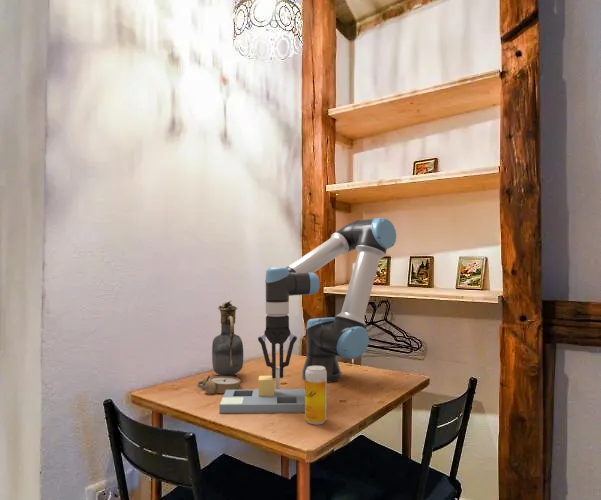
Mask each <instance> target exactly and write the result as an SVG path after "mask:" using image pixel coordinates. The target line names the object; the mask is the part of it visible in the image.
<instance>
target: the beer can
mask: <svg viewBox="0 0 601 500" xmlns="http://www.w3.org/2000/svg"><path fill="white" fill-rule="evenodd" d="M327 383H328V382H327V371H326V369H325V367H323V366H308V367H307V369H306V371H305V379H304V385H305V386H304V390H305V412H304V419H305V421H306V423H308V424H309V425H317V426H318V425H323V424H325V422H326V420H327V407H328V405H327V403H328V402H327V400H328V399H327V397H328V392H327V390H328V388H327V387H328V386H327Z"/></svg>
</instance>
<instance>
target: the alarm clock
mask: <svg viewBox="0 0 601 500" xmlns="http://www.w3.org/2000/svg"><path fill="white" fill-rule="evenodd" d="M196 386H197V388H199V389H203V390H205V392H206V394H208V395H213V394H215V393H217V394H224V393H225V391H226V390H241V388H244V387H243V385H241V378H238V377H237V378H235V377H231V376H218V375H217V376H210V375H206V376H204V378H203V379H202V380H201V381H198V382H197V385H196Z"/></svg>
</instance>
